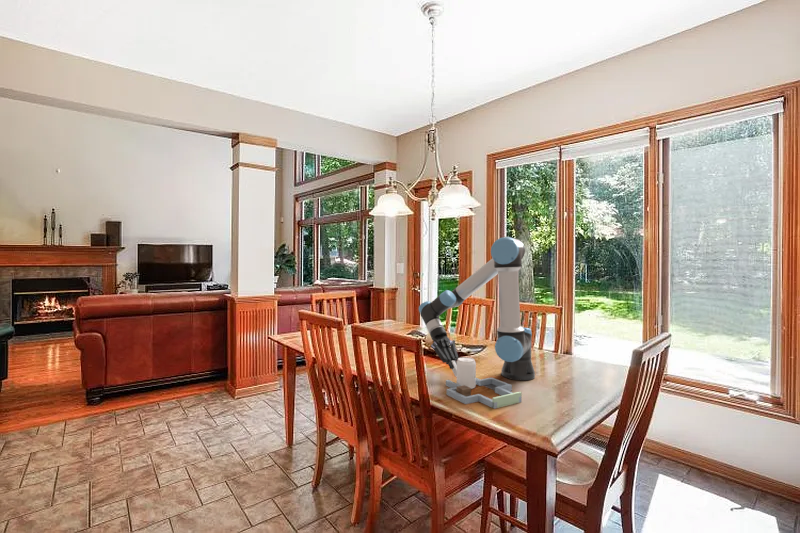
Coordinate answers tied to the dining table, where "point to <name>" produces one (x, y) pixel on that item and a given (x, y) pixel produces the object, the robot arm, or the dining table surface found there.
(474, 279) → the robot arm
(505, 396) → the end wall
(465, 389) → the walnut cube
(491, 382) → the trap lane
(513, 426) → the dining table surface
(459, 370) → the beverage can
